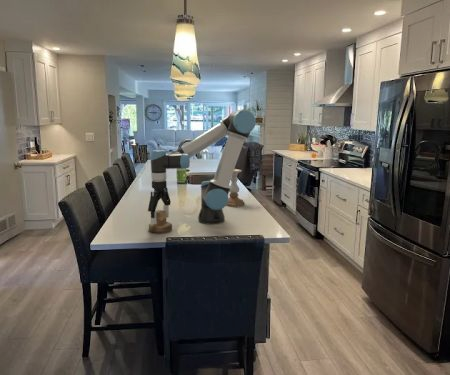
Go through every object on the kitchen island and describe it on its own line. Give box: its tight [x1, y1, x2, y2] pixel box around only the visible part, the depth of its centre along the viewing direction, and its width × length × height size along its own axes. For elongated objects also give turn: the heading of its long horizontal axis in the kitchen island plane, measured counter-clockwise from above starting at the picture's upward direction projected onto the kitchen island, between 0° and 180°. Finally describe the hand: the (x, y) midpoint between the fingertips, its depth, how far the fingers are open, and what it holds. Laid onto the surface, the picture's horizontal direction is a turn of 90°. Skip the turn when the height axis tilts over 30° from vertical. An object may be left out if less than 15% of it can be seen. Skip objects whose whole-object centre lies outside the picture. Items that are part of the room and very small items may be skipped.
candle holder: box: [225, 168, 246, 208], centre depth 249 cm, size 11×11×24 cm
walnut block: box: [153, 209, 167, 226], centre depth 193 cm, size 5×5×7 cm
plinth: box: [148, 221, 173, 235], centre depth 194 cm, size 12×12×3 cm
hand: (160, 220), depth 193 cm, fingers open, 13 cm apart
